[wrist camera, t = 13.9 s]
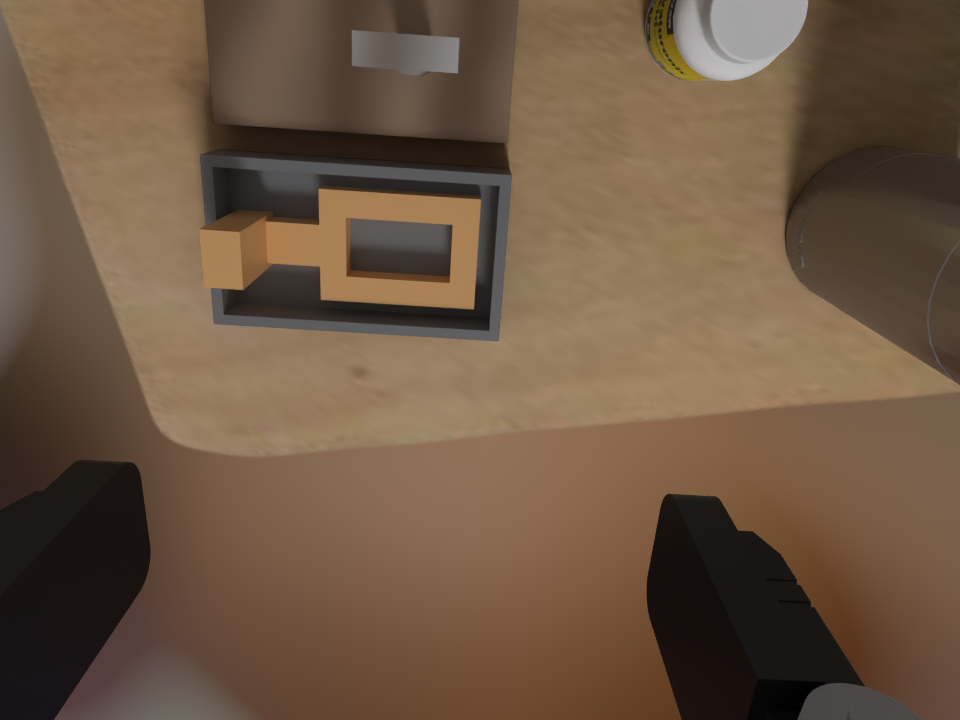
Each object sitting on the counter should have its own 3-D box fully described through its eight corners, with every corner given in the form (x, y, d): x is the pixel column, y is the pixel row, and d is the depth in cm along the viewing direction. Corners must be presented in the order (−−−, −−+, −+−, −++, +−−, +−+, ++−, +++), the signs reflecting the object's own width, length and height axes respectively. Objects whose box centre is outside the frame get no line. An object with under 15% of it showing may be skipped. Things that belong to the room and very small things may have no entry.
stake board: (518, -18, 36) (529, -46, 28) (506, 141, 39) (513, 155, 31) (211, -41, 36) (136, -75, 28) (223, 122, 39) (158, 131, 31)
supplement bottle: (635, -17, 36) (686, -50, 27) (738, -43, 36) (826, -86, 27) (648, 91, 38) (701, 93, 29) (747, 68, 38) (831, 62, 29)
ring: (481, 195, 40) (481, 213, 34) (474, 301, 42) (473, 335, 37) (236, 179, 39) (196, 194, 34) (243, 287, 42) (206, 318, 36)
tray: (509, 168, 40) (511, 175, 37) (497, 324, 43) (498, 341, 41) (219, 149, 39) (199, 154, 37) (231, 308, 43) (213, 324, 40)
